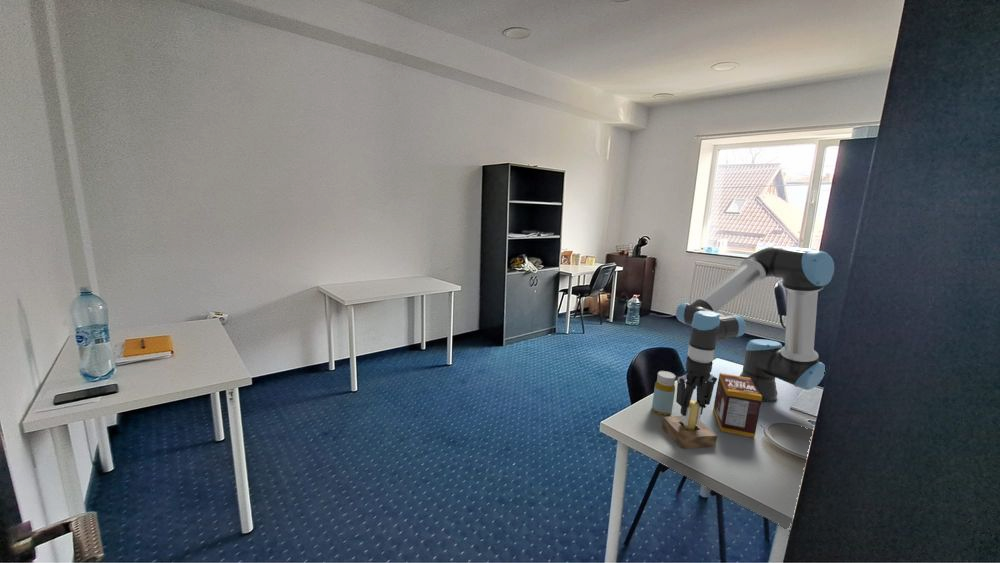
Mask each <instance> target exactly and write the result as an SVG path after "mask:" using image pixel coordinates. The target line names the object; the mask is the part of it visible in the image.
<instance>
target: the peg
mask: <svg viewBox="0 0 1000 563" xmlns="http://www.w3.org/2000/svg"><path fill="white" fill-rule="evenodd" d="M698 405H699V404H698V402H697V400H693V399H691V400H690V403H689V407H690V414H689V420H688V426H685V425H684V426H683V427H684V428H685V429H686V430H687V431H689V430H694V429H695V423H696V417H697V411H698Z"/></svg>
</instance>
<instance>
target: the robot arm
mask: <svg viewBox="0 0 1000 563" xmlns="http://www.w3.org/2000/svg"><path fill="white" fill-rule="evenodd" d="M834 273H835V262H834V260H833V258H832V256H831V255H829V253H827V252H826V251H823V250H817V249H816V248H815V249H814V248H804V247H803V248H802V247H793V246H787V245H774V246H773V245H772V246H769V247H765V248H762V249H760V250H758V251H756V252H753V253H752V254H750V255H748V256H747V257H746V258H745V259H743V260H742V261H741V262H740V265H739V267H738V268H736V269H735V270H733V271H732V272H731V273H730V274H729V275H727V276H726V277H725V278H723V279H722V280H721V281H719V282H717V284H716V285H715V286H713V287H711V288H710V289H709V290H708V291H706V292H705V293H704V294H702V295H701V296H700V297H698V298H697V299H696V300H695V301H693V302H692V303H690V302H682V303H680V304H679V305H678V306H677V308H676V310H675V311H676V312H675V316H676V319H677V320H678V321H679V322H681V323H683V324H684V325H686V326H691V329H690V336H689V343H688V349H687V357H686V363H685V372H684V374H683V375H681V376H680V375H676V378H675V380H676V382H677V386H676V387H677V388H676V400H675V402H676V403H677V404H678V405H680V414H681V415H680V416H681V422H682V423H683V424H684V425H685V426H688V420H689V414H690V407H689V403H690V400H692V397H693V393H694V391H695V390H696V402H698V404H699V405H698V411H697V417H696V423H695V424H696V425H699V420H700V419H701V416H702V415H703V412H704V411H703V410H704V409H706V407H707V405H708V406H709V405H710V404H711V400H712V396H713V392H714V387H715V384H716V383H717V382H718V378H717V377H716V376H715V375H713V374H711V372H712V369H713V363H714V362H713V361H714V358H715V352H716V351H715V350H716V343H717V341H721V340H731V339H735V338H739V337H742V336H743V335H745V333H746V332H747V323H746V321H745V319H744V318H742V317H741V316H740V315H737V314H724V313H721V312H719V311H720V310H721V309H723V308H724V307H725V306H727V305H728V304H729V303H730V302H732V301H733V300H735V298H736V297H738V296H739V295H741V294H742V293H743V292H745V291H746V290H747V289H748V288H749V287H751V286H752V285H753V284H754V283H756V282H761V281H763V280H765V278H768V277H775V278H779V279H782V287H783V288H784V289H785V290H786V292H787V295H786V316H785V318H786V319H785V320H786V321H785V338H784V339H785V340H784V346H783V345H782V343H781V342H778V341H775V340H770V339H758V338H757V339H750V340H749V341H748V342H747V344H746V348H745V355H744V359H743V360H744V361H743V367H742V371H741V373H740V374H739V376H741V377H748V378H751V380H752V382H753V383H754V385H755V387H756V388H757V390H758V391H759V393H760V394H761V396H762V401H761V402H773V401H776V400H777V398H778V390H777V385H776V384H777V383H776V379H778V380H781V381H783V382H786V383H788V384H790V385H791V386H792V385H793V386H794V387H797V388H799V389H802V390H804V391H805V390H807V391H808V390H812V389H815V387H817V386H818V385H819V384H820V383H821V382H822V380H823V378H824V377H825V374H824V372H825V373H826V371H825V366H826V365H825V364H824V363H823V362H821V361H819V353H818V352H817V351H816V350H815V337H816V336H815V335H816V323H817V311H818V309H817V308H818V299H819V298H818V296H819V292H820V291H821V290H824V288H825V286H827V285H828V284H829V283H830V282H831V280H832V279H833V277H834ZM700 421H701V420H700Z"/></svg>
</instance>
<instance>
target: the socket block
mask: <svg viewBox="0 0 1000 563" xmlns="http://www.w3.org/2000/svg"><path fill="white" fill-rule="evenodd" d="M681 416H682V415H675V416H669V415H668V416H663V417H662V422H661V428H662V429H663V431H665V432H666V434H667V435H668V436H669V437H671V439H672V440H673V441H674V442H675V443H676V444H677V445H678V446H679V447H680V448H681V449H696V448H697V449H698V448H710V447H717V446H716V445H717V440H718V435H717V434H716V433H715V432H714V431H713V430H712V429H710V428H709V427H708V426H707V425H706V424H705V422H703V421H701V420H699V425H696V424H695V429H694V430H689V431H687V430H686V429H685V428H684V427H683V426H684V424H683V423H682V422H681Z"/></svg>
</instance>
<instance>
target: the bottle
mask: <svg viewBox="0 0 1000 563" xmlns="http://www.w3.org/2000/svg"><path fill="white" fill-rule="evenodd" d="M676 377H677V375H675V373H673V372H671V371H667V370H666V371H665V370H660V371H658V372H657V377H656V378H657V379H656V381H655V383H654V390H653V397H652V403H651V405H652V406H651V409H652V410H653V411H654V413H656V414H658V415H661V416H669V415H671V414H672V412H673V407H674V400H675V392H676V385H675V382H676Z"/></svg>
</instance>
